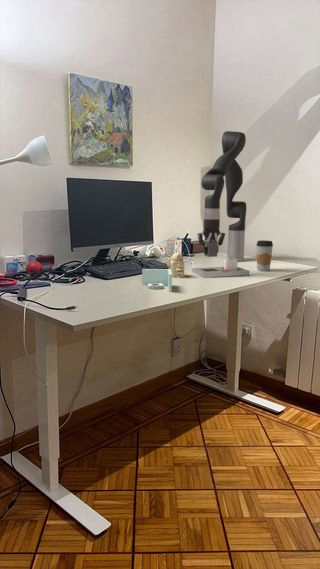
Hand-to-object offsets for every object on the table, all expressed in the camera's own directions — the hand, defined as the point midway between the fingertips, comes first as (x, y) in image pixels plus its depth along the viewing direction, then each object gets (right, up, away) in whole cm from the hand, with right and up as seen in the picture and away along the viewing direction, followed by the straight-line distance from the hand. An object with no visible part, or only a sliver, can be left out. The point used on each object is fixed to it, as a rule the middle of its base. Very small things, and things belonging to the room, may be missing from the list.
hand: (210, 254), depth 221 cm
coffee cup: (+29, -7, +17) cm, 35 cm away
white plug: (+10, -9, +6) cm, 15 cm away
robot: (-17, -12, -5) cm, 21 cm away
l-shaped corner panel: (-26, -17, -30) cm, 43 cm away
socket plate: (+5, -10, +4) cm, 11 cm away
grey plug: (0, -1, 0) cm, 1 cm away
